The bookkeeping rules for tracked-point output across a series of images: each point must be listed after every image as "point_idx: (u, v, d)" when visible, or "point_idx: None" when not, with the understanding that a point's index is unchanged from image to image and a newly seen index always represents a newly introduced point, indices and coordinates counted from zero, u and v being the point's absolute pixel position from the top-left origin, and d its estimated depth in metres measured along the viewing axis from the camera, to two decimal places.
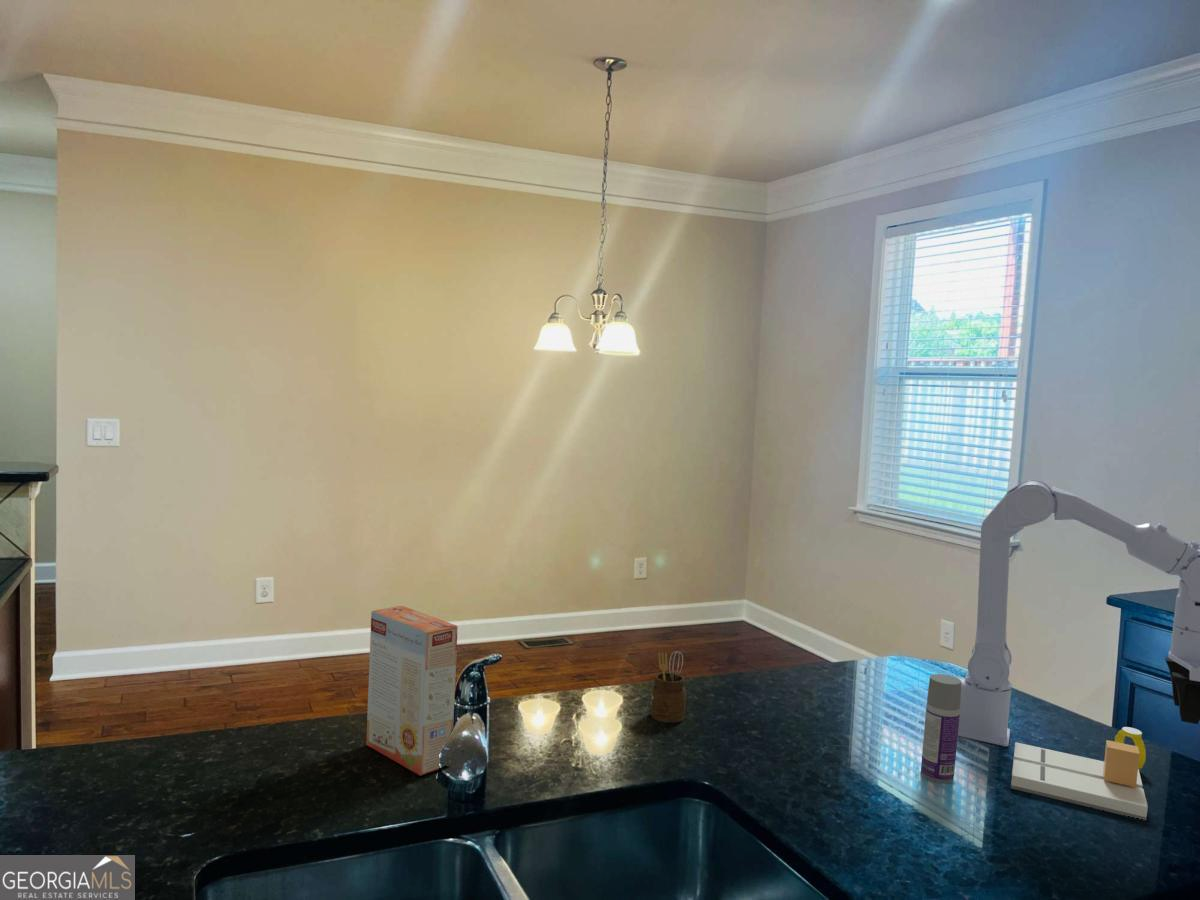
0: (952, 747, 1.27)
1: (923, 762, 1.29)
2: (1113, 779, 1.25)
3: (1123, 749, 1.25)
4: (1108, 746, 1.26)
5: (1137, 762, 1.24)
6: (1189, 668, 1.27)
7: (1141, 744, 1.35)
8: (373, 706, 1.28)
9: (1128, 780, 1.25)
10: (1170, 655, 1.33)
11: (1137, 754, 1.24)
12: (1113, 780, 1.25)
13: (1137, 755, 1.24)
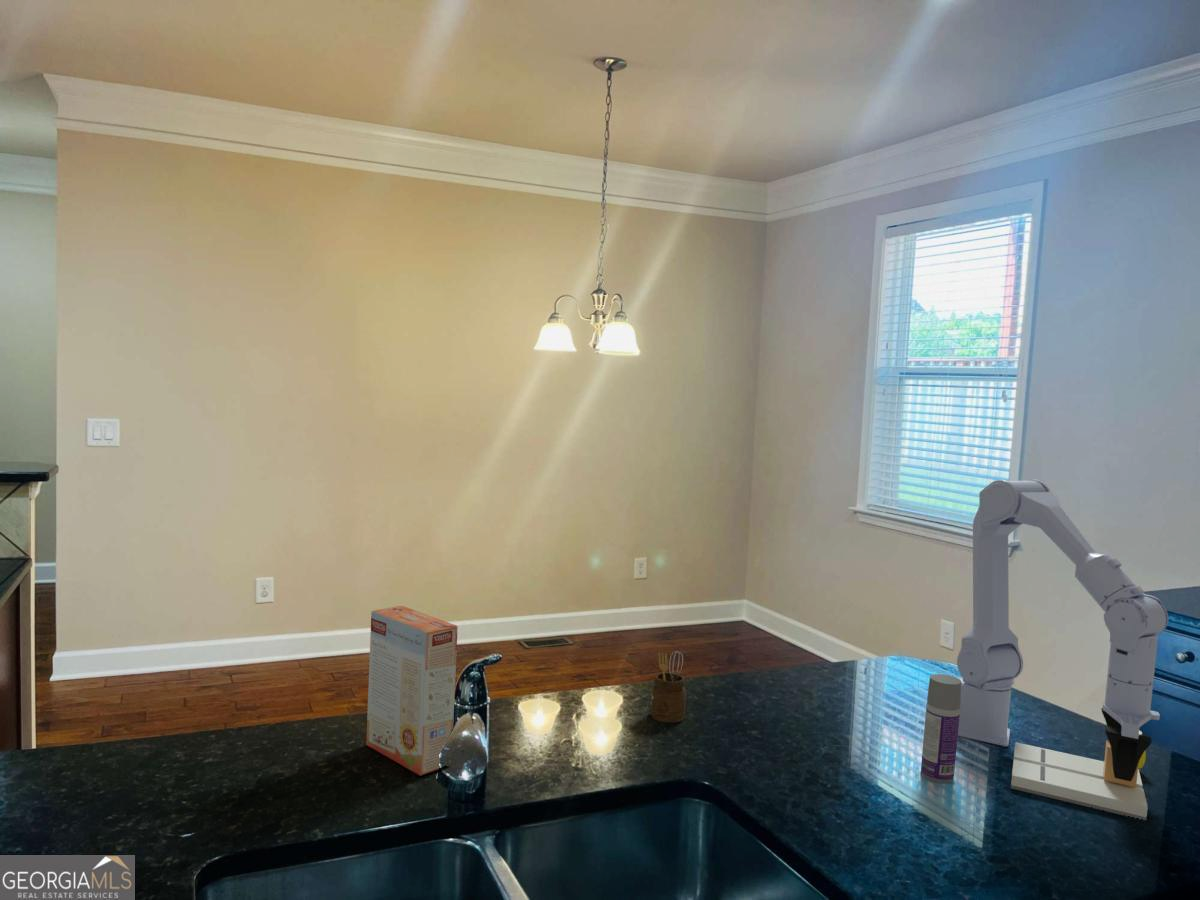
0: (952, 747, 1.27)
1: (923, 762, 1.29)
2: (1113, 779, 1.25)
3: None
4: (1108, 746, 1.26)
5: None
6: (1121, 723, 1.21)
7: None
8: (373, 706, 1.28)
9: None
10: (1104, 707, 1.26)
11: None
12: (1113, 780, 1.25)
13: None
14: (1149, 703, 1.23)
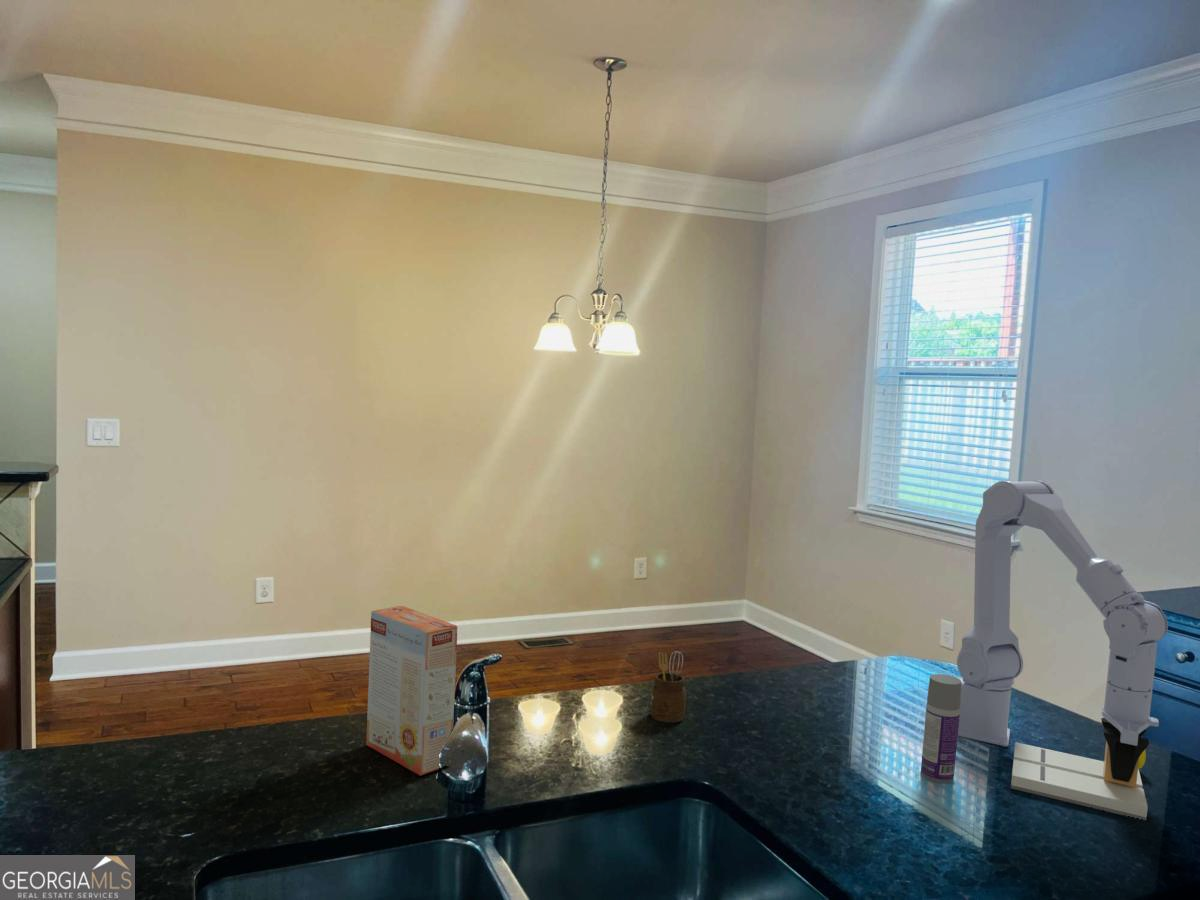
0: (952, 747, 1.27)
1: (923, 762, 1.29)
2: (1113, 779, 1.25)
3: None
4: None
5: (1137, 762, 1.24)
6: (1120, 729, 1.21)
7: None
8: (373, 706, 1.28)
9: None
10: (1103, 713, 1.26)
11: None
12: (1113, 780, 1.25)
13: None
14: (1148, 710, 1.23)
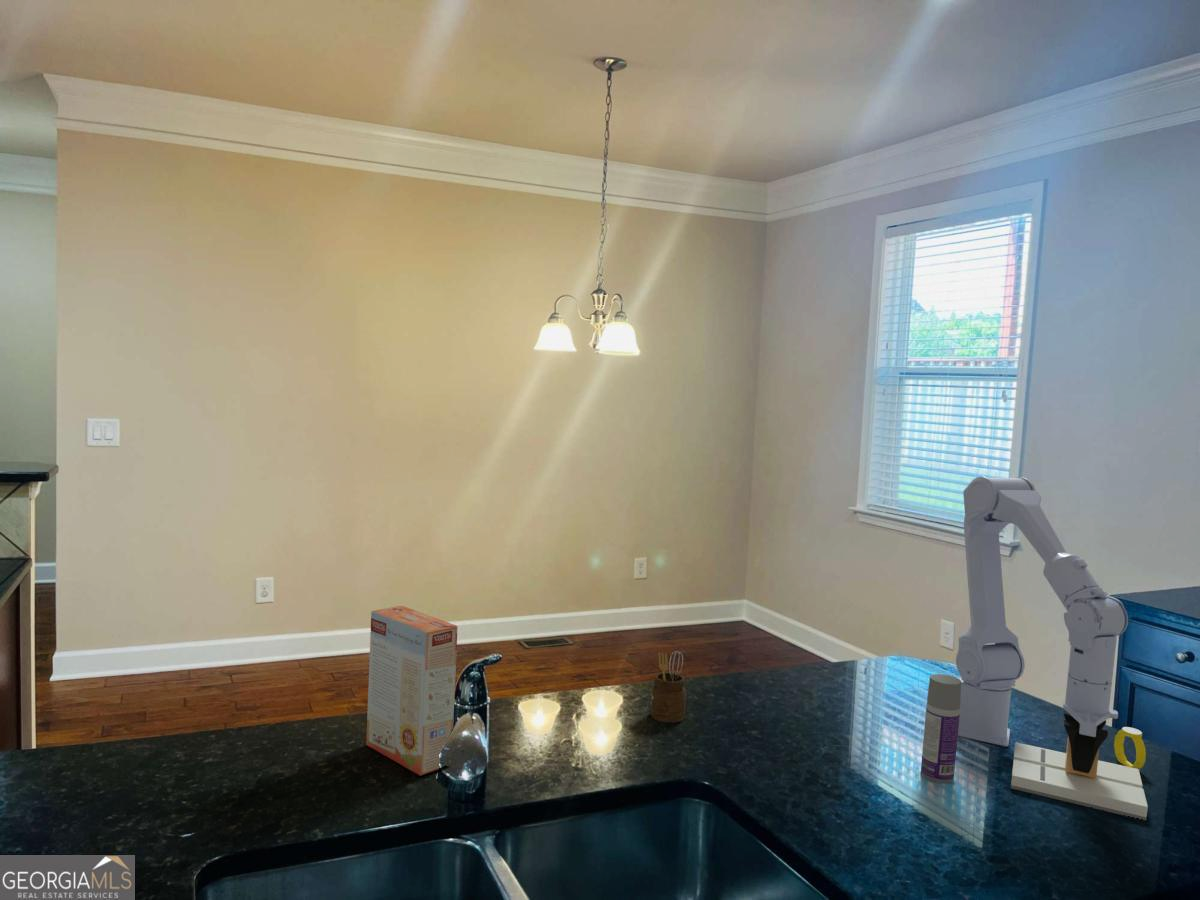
0: (952, 747, 1.27)
1: (923, 762, 1.29)
2: (1074, 770, 1.28)
3: None
4: None
5: (1097, 753, 1.26)
6: (1079, 721, 1.23)
7: (1141, 744, 1.35)
8: (373, 706, 1.28)
9: None
10: (1064, 705, 1.29)
11: None
12: (1074, 771, 1.28)
13: None
14: (1108, 702, 1.26)
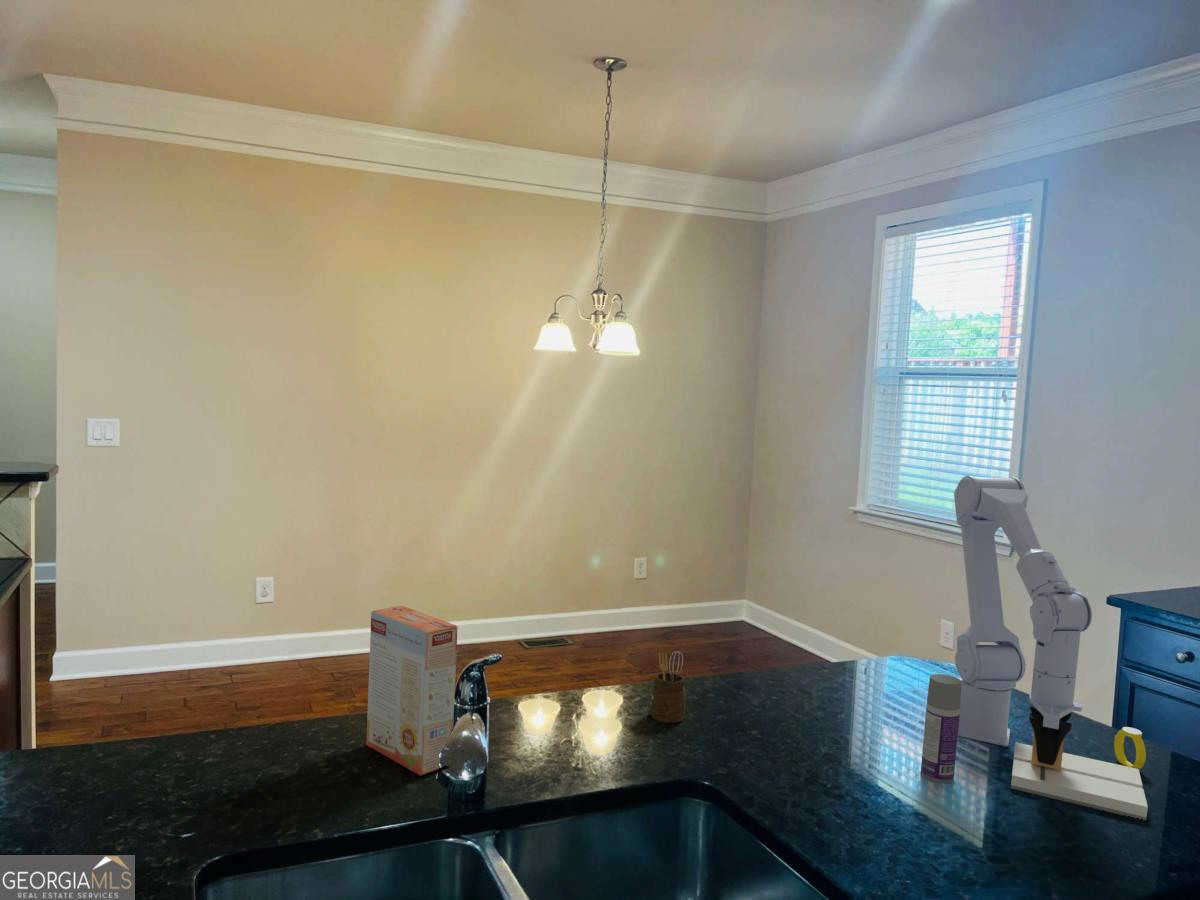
0: (952, 747, 1.27)
1: (923, 762, 1.29)
2: (1039, 762, 1.30)
3: None
4: None
5: (1062, 746, 1.28)
6: (1043, 714, 1.25)
7: (1141, 744, 1.35)
8: (373, 706, 1.28)
9: None
10: (1030, 699, 1.31)
11: None
12: (1039, 763, 1.30)
13: None
14: (1072, 695, 1.28)
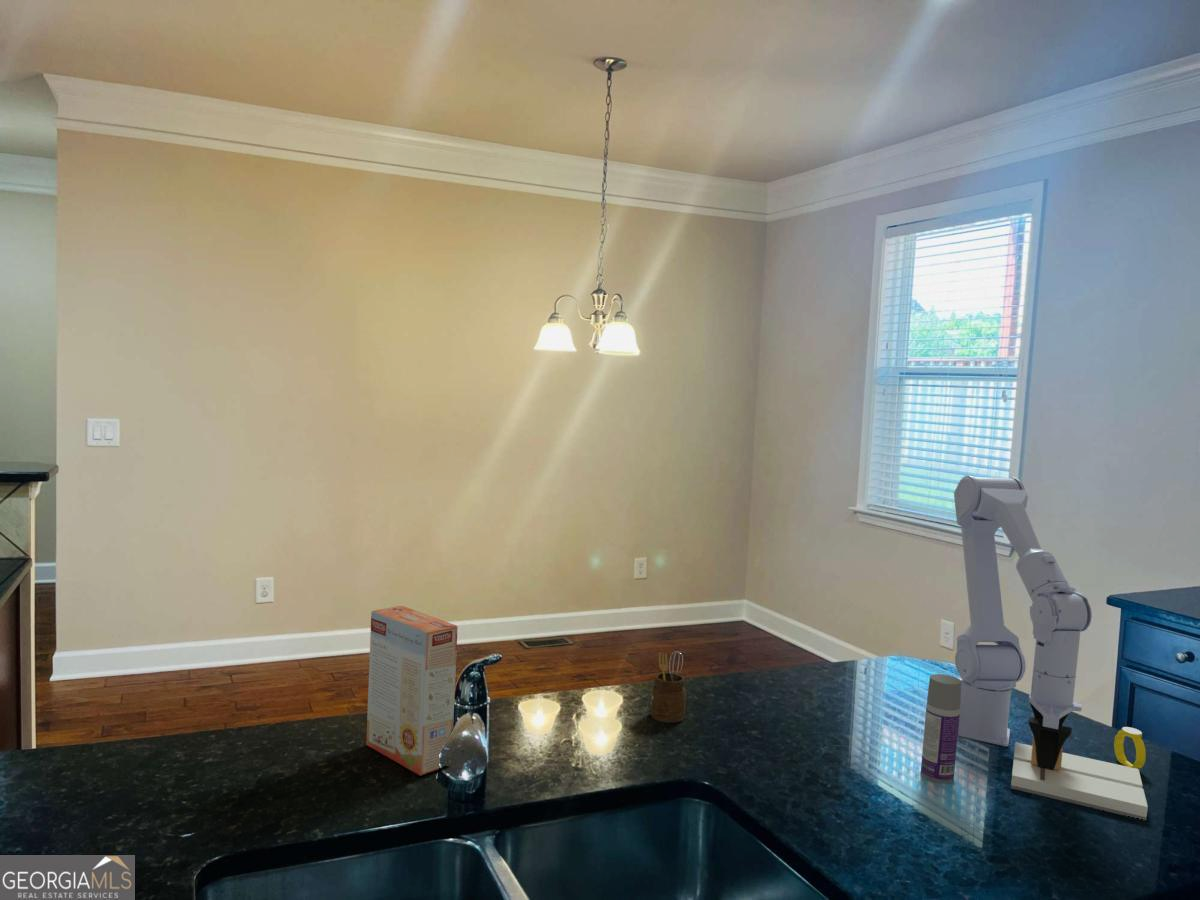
0: (952, 747, 1.27)
1: (923, 762, 1.29)
2: None
3: None
4: None
5: None
6: (1043, 714, 1.25)
7: (1141, 744, 1.35)
8: (373, 706, 1.28)
9: None
10: (1029, 699, 1.31)
11: None
12: None
13: None
14: (1071, 695, 1.28)
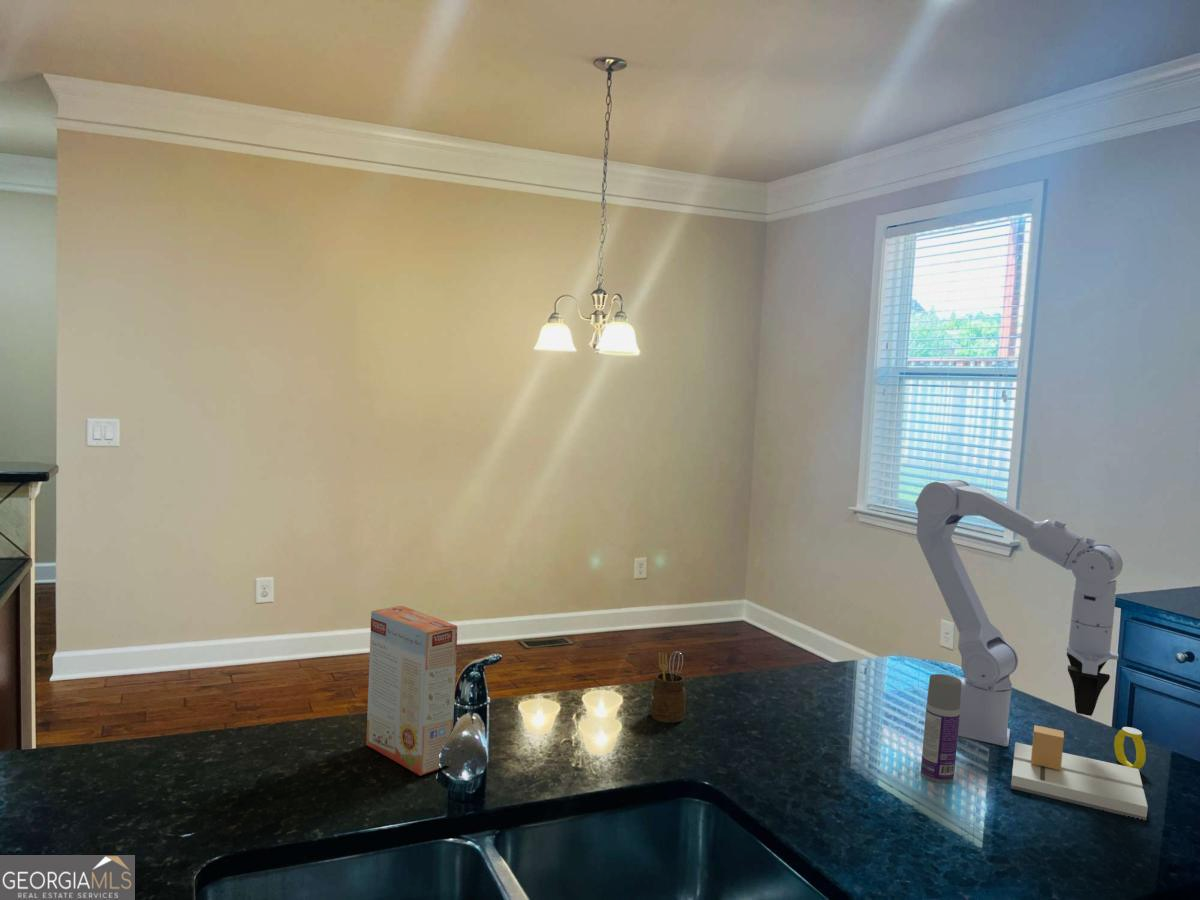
0: (952, 747, 1.27)
1: (923, 762, 1.29)
2: (1039, 762, 1.30)
3: (1048, 733, 1.30)
4: (1035, 731, 1.30)
5: (1061, 746, 1.28)
6: (1082, 661, 1.30)
7: (1141, 744, 1.35)
8: (373, 706, 1.28)
9: (1053, 763, 1.29)
10: (1067, 649, 1.36)
11: (1061, 738, 1.28)
12: (1039, 763, 1.30)
13: (1061, 739, 1.28)
14: (1109, 644, 1.33)
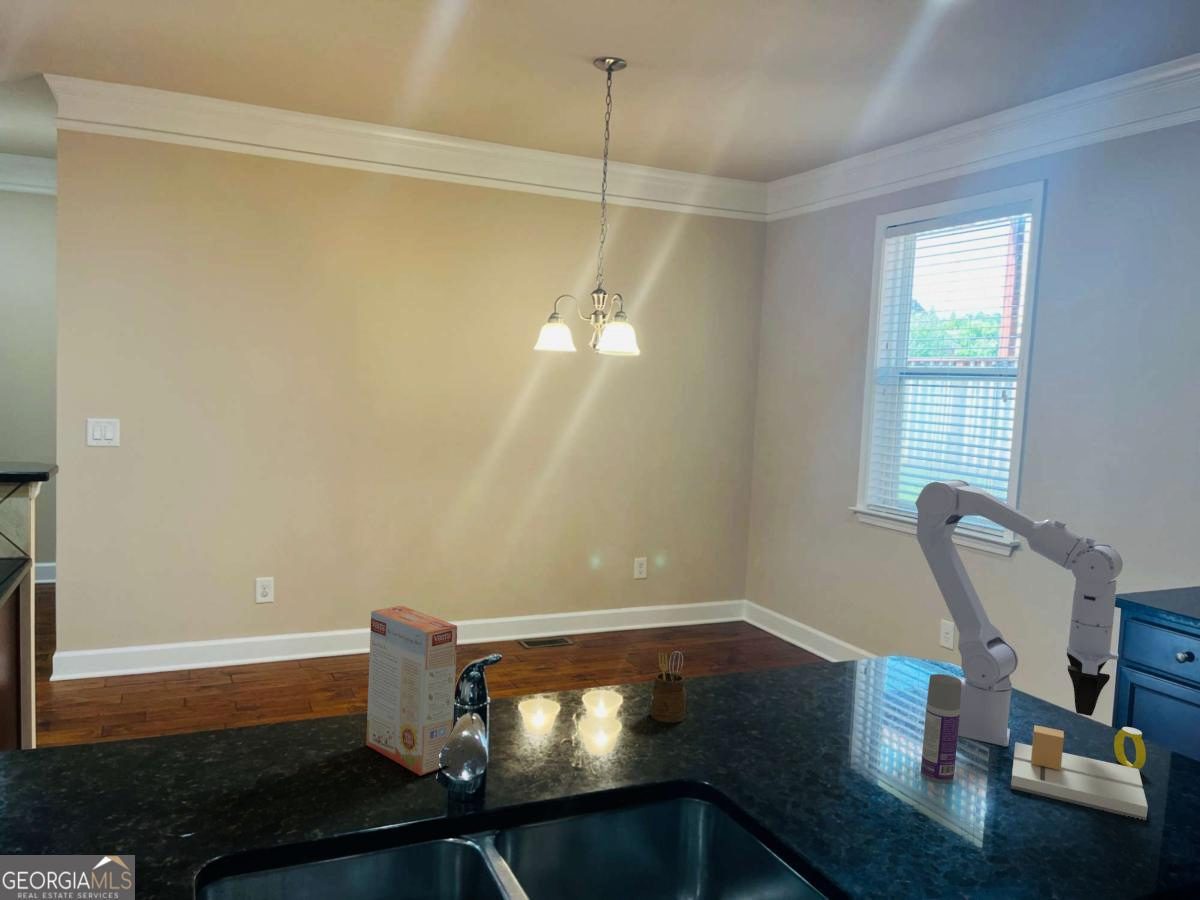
0: (952, 747, 1.27)
1: (923, 762, 1.29)
2: (1039, 762, 1.30)
3: (1048, 733, 1.30)
4: (1035, 731, 1.30)
5: (1061, 746, 1.28)
6: (1082, 661, 1.30)
7: (1141, 744, 1.35)
8: (373, 706, 1.28)
9: (1053, 763, 1.29)
10: (1067, 649, 1.36)
11: (1061, 738, 1.28)
12: (1039, 763, 1.30)
13: (1061, 739, 1.28)
14: (1109, 644, 1.33)
